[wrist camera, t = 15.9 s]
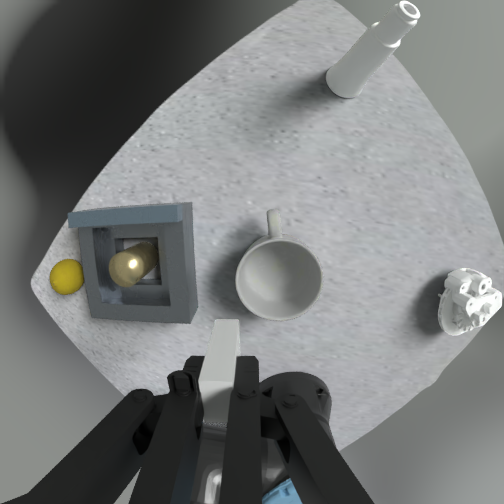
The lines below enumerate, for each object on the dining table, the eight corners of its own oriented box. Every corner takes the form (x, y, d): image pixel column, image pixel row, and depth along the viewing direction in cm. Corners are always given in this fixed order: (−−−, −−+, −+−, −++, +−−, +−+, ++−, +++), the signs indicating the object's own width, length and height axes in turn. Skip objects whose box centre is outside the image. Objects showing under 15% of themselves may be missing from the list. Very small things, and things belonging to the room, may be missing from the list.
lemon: (63, 265, 42) (36, 277, 35) (81, 248, 42) (53, 259, 34) (79, 291, 43) (54, 307, 35) (98, 275, 43) (73, 291, 35)
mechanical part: (422, 328, 45) (456, 359, 33) (430, 266, 42) (471, 286, 31) (464, 317, 44) (499, 342, 33) (472, 260, 42) (513, 277, 30)
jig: (198, 306, 44) (186, 331, 35) (108, 303, 44) (84, 323, 35) (192, 202, 40) (177, 204, 32) (97, 208, 40) (67, 213, 32)
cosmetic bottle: (344, 105, 37) (417, 43, 16) (317, 76, 36) (367, -6, 15) (369, 86, 36) (446, 25, 15) (343, 58, 35) (402, -19, 14)
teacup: (306, 302, 43) (316, 324, 36) (235, 297, 43) (232, 319, 35) (317, 211, 41) (332, 215, 33) (242, 204, 40) (240, 207, 33)
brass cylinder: (160, 271, 42) (141, 287, 35) (133, 270, 42) (111, 286, 35) (157, 241, 42) (137, 252, 34) (130, 242, 42) (106, 252, 34)
